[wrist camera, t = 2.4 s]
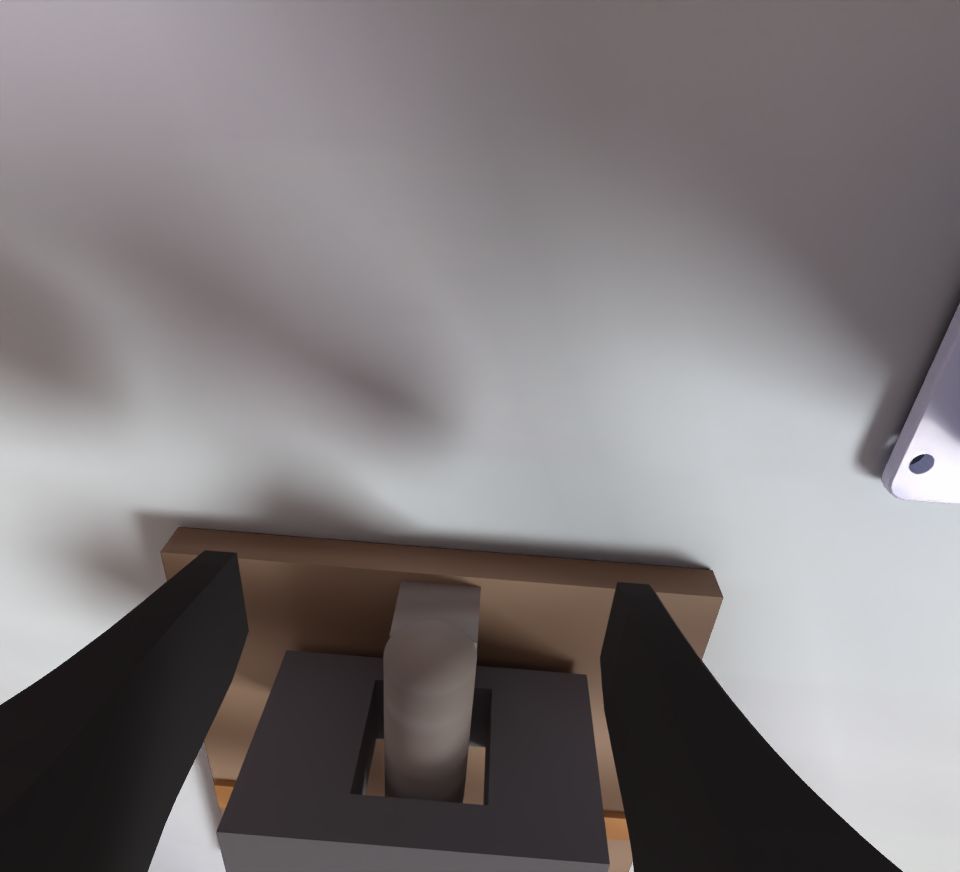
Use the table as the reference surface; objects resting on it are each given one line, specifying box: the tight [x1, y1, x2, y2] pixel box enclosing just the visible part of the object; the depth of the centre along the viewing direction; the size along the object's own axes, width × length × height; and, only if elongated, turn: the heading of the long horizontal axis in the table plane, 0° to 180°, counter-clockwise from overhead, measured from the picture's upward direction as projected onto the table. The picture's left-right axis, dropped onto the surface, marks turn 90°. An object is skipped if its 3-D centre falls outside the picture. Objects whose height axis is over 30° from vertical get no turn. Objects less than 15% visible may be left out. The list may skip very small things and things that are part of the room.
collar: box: [217, 650, 610, 872], centre depth 16 cm, size 2×8×5 cm, turn 86°
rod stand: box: [161, 527, 723, 872], centre depth 19 cm, size 16×14×5 cm
